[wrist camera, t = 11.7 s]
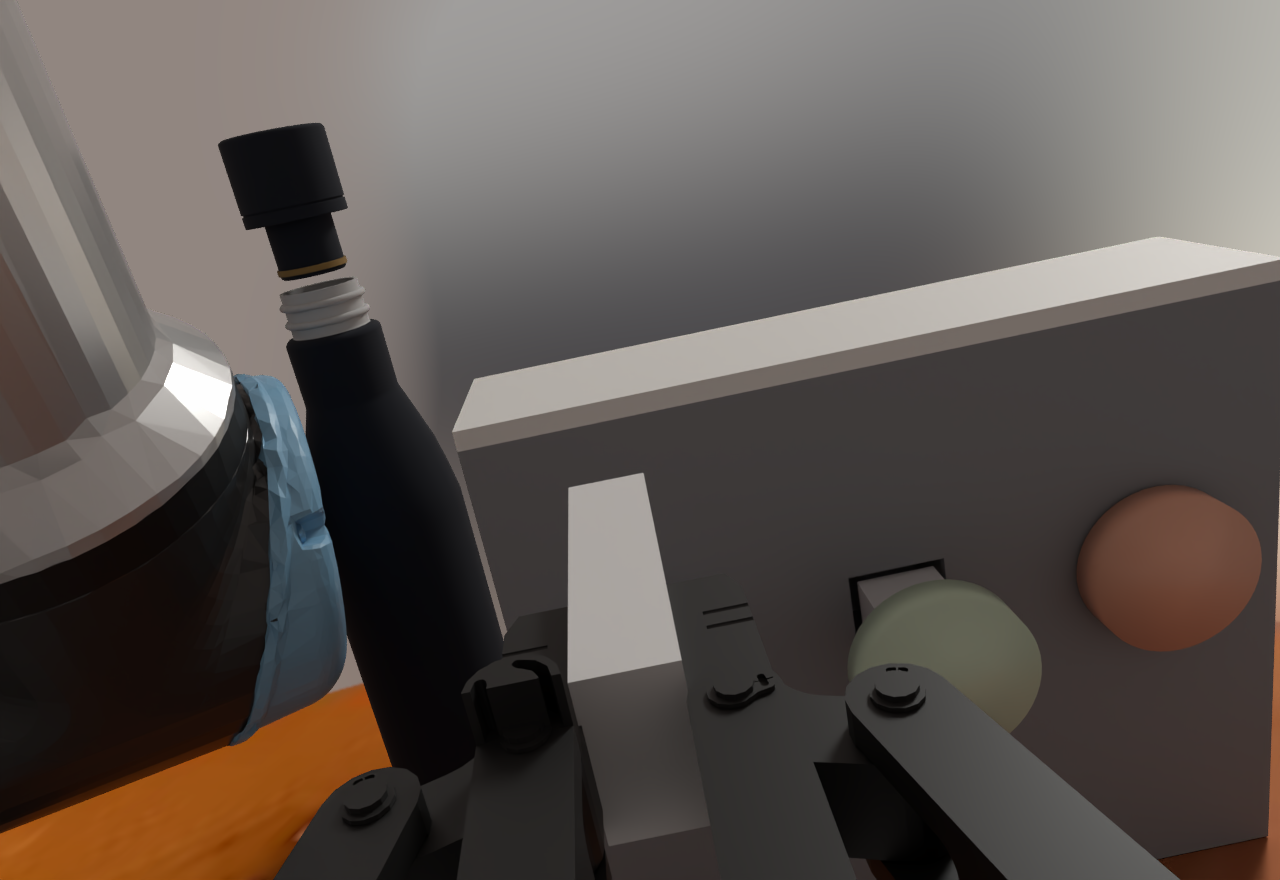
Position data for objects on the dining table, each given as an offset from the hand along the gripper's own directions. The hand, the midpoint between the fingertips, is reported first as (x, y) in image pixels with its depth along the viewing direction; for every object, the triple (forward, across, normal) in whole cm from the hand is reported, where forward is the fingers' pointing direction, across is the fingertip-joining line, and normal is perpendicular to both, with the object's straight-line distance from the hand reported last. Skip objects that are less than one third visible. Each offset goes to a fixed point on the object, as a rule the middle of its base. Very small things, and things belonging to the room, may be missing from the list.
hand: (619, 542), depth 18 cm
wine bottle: (+20, -10, -21) cm, 30 cm away
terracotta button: (+9, +16, -10) cm, 21 cm away
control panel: (+11, +8, -20) cm, 24 cm away
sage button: (+6, +8, -11) cm, 14 cm away
